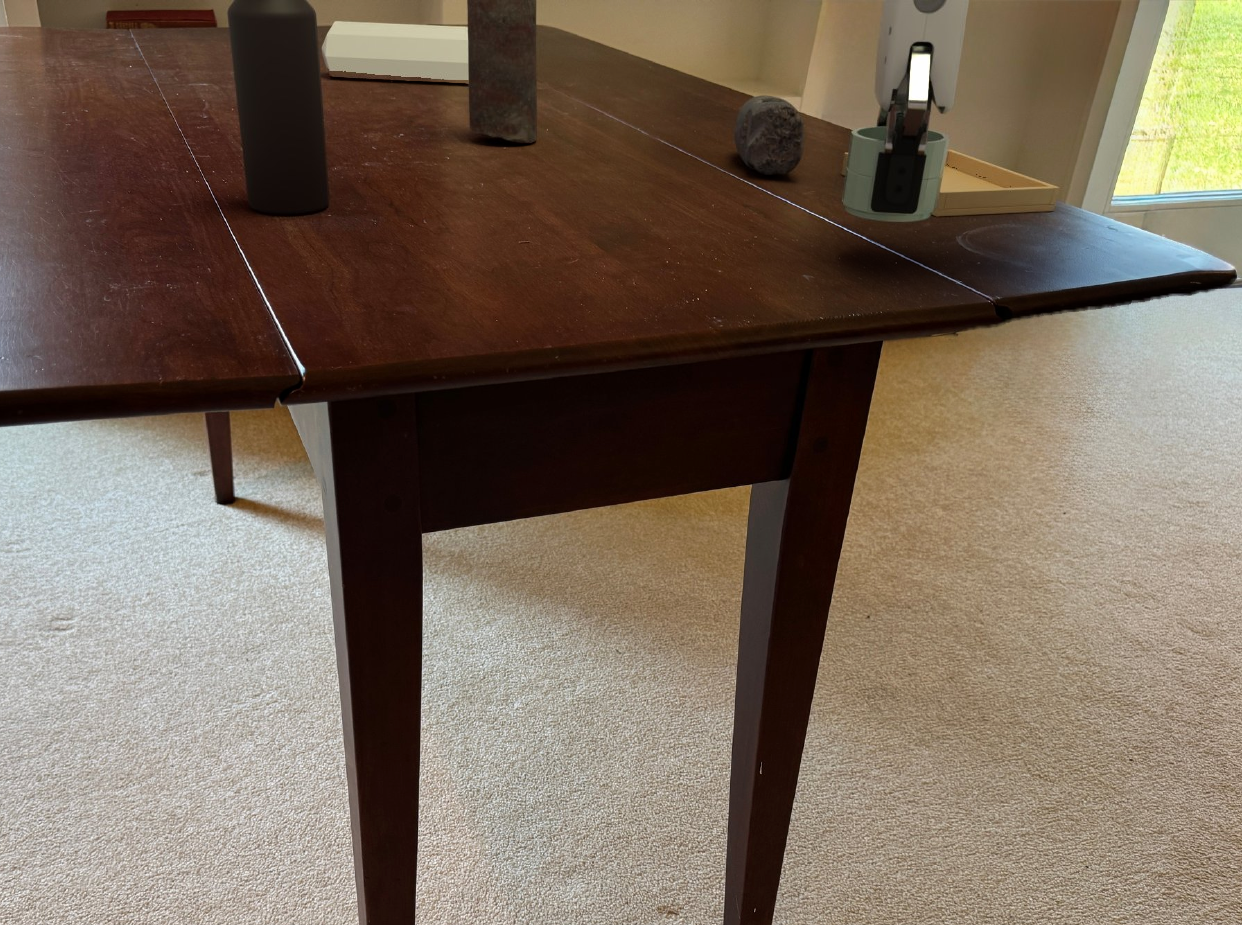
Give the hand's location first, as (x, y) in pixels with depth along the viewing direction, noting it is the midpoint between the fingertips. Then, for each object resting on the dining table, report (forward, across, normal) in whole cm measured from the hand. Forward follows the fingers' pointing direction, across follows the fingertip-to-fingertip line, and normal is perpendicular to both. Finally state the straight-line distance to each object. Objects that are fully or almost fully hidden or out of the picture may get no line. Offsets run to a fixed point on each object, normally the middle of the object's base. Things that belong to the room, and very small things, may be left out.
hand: (889, 197), depth 83 cm
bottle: (+4, +2, +49) cm, 49 cm away
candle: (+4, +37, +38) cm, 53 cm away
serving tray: (+5, +26, -7) cm, 28 cm away
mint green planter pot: (+1, 0, 0) cm, 1 cm away
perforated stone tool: (+5, +32, +10) cm, 34 cm away
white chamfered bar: (+4, +76, +62) cm, 98 cm away
